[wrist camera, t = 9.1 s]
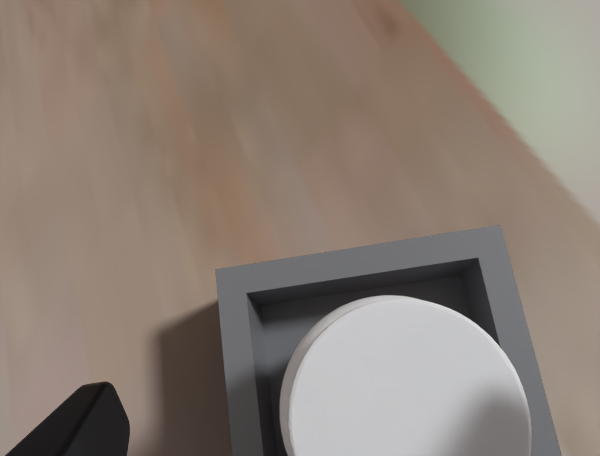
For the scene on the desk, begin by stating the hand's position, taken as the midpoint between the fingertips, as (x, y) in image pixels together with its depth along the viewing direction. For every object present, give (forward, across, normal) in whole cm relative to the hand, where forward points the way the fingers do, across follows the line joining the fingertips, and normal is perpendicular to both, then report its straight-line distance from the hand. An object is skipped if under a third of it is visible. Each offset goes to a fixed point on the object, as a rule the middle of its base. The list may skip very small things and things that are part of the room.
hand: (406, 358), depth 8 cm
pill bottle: (+8, 0, +10) cm, 13 cm away
